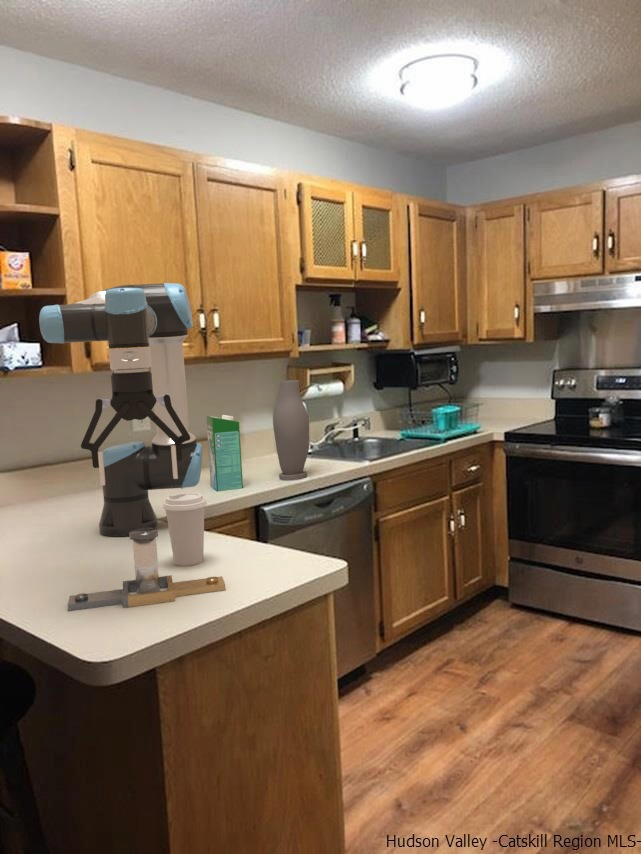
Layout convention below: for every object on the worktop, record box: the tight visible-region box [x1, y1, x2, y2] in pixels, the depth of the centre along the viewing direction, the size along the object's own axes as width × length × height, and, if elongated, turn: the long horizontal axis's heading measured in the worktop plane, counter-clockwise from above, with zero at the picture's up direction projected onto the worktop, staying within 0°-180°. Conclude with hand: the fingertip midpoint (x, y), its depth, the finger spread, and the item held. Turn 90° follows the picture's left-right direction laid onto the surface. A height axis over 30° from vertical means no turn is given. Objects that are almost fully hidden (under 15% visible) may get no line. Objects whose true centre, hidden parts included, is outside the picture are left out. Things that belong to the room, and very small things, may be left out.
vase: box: [272, 379, 310, 481], centre depth 250 cm, size 13×13×35 cm
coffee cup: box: [162, 492, 207, 567], centre depth 157 cm, size 10×10×15 cm
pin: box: [129, 528, 161, 594], centre depth 137 cm, size 5×5×13 cm
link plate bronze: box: [128, 574, 226, 608], centre depth 139 cm, size 10×19×2 cm, turn 105°
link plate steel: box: [67, 575, 168, 612], centre depth 136 cm, size 10×19×2 cm, turn 105°
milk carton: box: [206, 414, 244, 492], centre depth 238 cm, size 9×9×25 cm
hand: (139, 481), depth 135 cm, fingers open, 13 cm apart
